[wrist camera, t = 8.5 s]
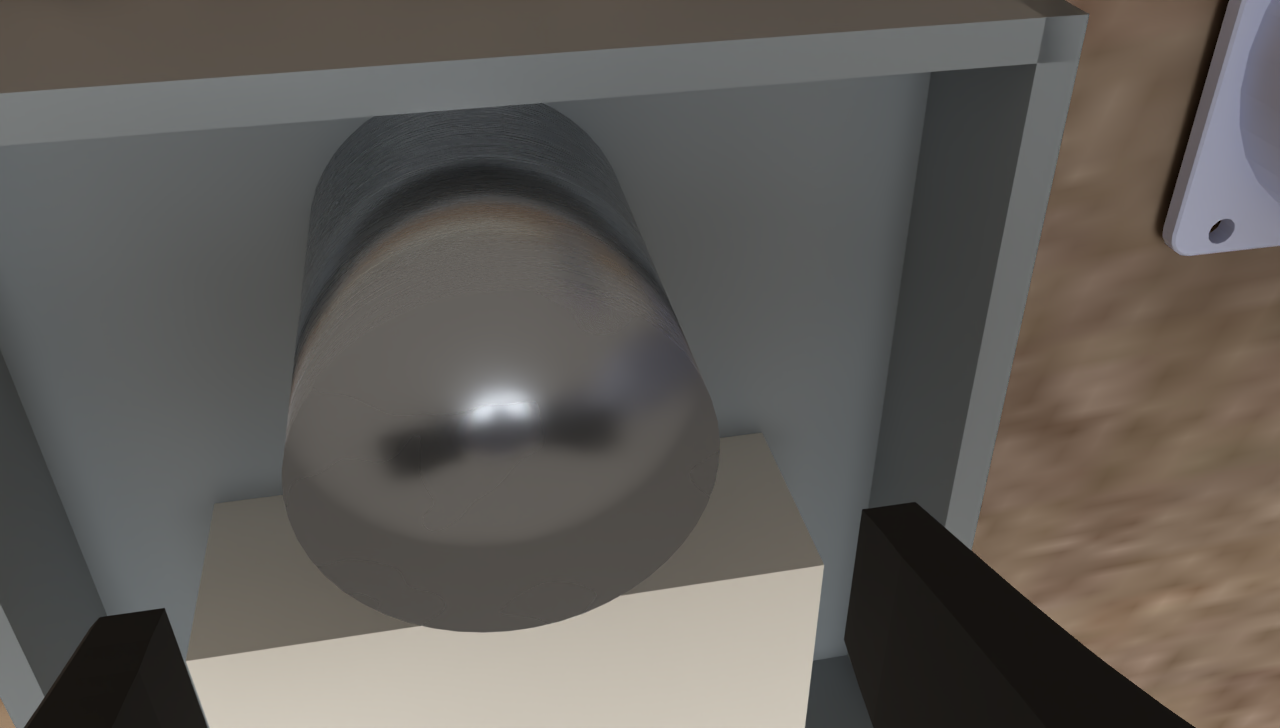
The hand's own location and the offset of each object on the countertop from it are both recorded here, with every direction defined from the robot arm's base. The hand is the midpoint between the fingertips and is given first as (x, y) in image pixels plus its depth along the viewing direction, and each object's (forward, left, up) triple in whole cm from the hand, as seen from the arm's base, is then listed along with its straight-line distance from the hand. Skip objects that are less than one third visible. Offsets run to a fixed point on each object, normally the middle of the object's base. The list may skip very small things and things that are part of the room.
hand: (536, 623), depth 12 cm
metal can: (0, -1, -8) cm, 8 cm away
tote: (0, +4, -9) cm, 9 cm away
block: (0, +7, -8) cm, 10 cm away
